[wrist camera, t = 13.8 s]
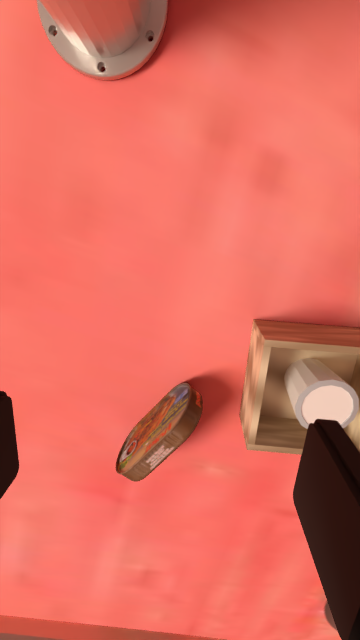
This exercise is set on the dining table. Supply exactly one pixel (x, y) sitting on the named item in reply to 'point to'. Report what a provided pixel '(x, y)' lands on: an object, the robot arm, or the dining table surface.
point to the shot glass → (319, 393)
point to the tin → (160, 432)
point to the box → (269, 386)
